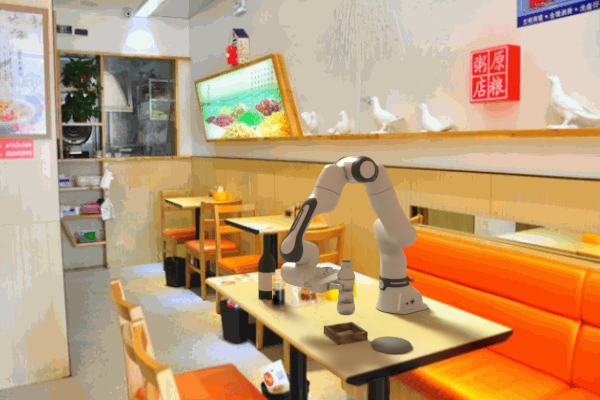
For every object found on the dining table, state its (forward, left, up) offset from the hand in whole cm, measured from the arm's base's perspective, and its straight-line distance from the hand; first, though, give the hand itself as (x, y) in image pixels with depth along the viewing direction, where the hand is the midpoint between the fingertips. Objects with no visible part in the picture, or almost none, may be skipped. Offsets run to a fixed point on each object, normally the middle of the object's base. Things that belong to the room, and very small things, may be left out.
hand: (348, 285), depth 195 cm
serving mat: (-10, +13, -20) cm, 26 cm away
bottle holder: (+1, -1, -20) cm, 20 cm away
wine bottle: (+12, -58, -20) cm, 62 cm away
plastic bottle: (0, -1, -11) cm, 12 cm away
